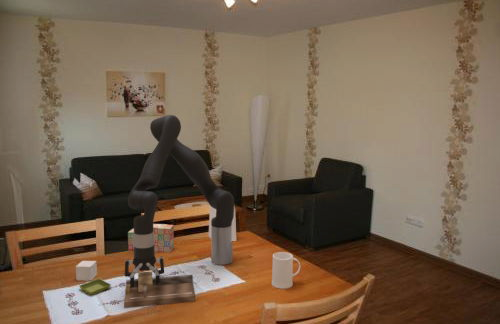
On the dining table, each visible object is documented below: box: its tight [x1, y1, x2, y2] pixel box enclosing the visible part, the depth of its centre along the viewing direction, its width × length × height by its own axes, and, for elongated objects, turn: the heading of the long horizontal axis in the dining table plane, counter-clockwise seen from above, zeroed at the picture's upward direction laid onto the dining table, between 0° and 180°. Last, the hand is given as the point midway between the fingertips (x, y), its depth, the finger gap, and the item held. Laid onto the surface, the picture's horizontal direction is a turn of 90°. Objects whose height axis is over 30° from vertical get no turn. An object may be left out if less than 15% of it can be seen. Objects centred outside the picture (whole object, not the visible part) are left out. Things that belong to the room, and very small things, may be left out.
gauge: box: [137, 270, 153, 297], centre depth 147 cm, size 5×9×6 cm, turn 13°
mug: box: [271, 251, 301, 290], centre depth 160 cm, size 12×8×12 cm
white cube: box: [75, 260, 98, 282], centre depth 164 cm, size 6×6×6 cm
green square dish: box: [78, 278, 112, 295], centre depth 154 cm, size 9×9×2 cm
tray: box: [123, 274, 196, 309], centre depth 149 cm, size 25×13×4 cm, turn 103°
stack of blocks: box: [127, 223, 175, 254], centre depth 196 cm, size 21×6×12 cm, turn 83°
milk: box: [208, 205, 237, 242], centre depth 211 cm, size 12×12×26 cm
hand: (145, 285), depth 150 cm, fingers open, 8 cm apart
